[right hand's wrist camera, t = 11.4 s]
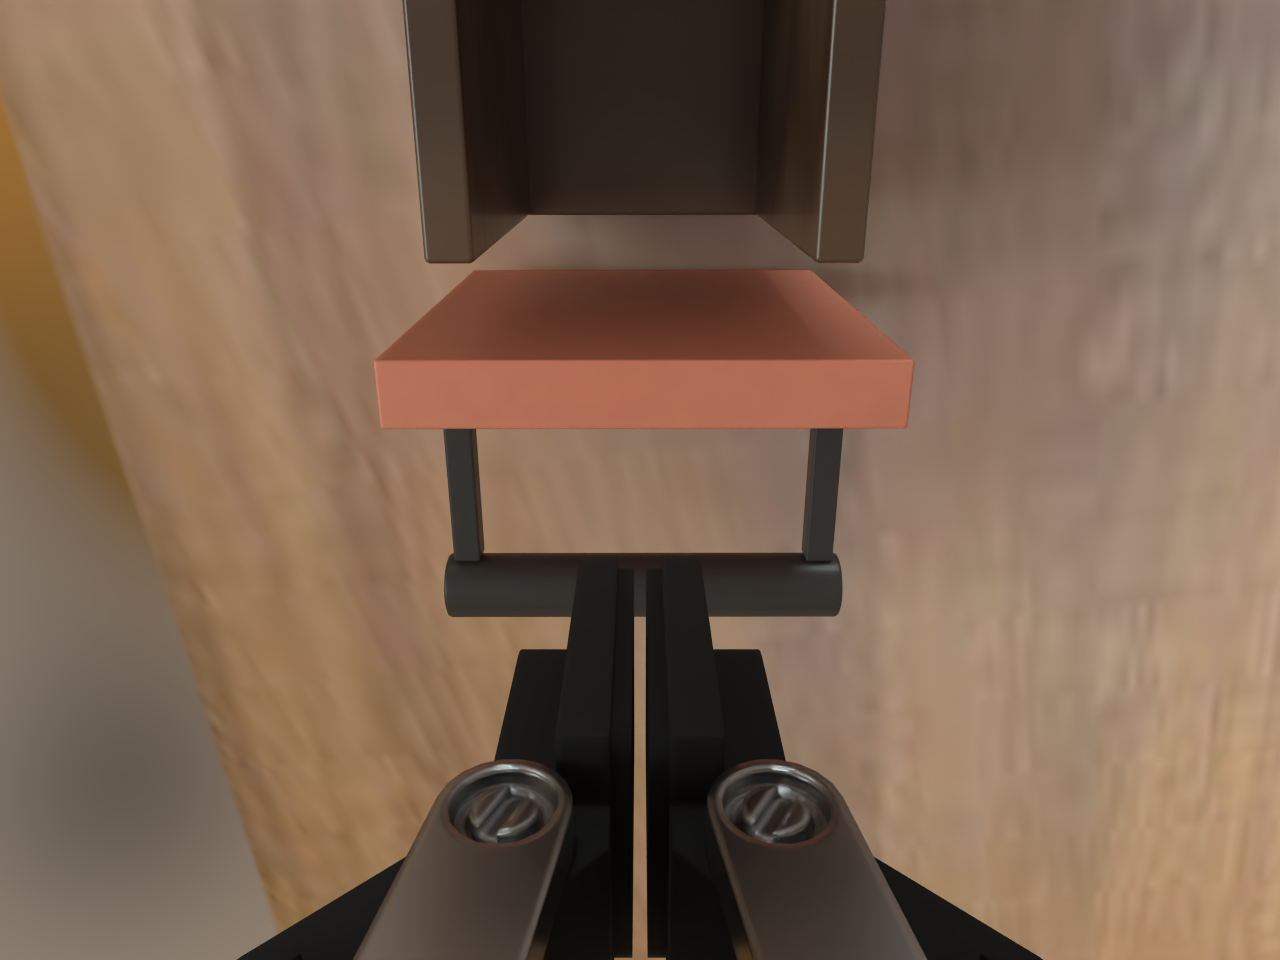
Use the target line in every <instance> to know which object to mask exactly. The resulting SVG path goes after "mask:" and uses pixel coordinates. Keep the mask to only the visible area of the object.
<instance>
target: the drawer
mask: <svg viewBox="0 0 1280 960" xmlns="http://www.w3.org/2000/svg"><path fill="white" fill-rule="evenodd" d="M402 1H403V12H404V24H405V36H406V47H407V59H408V71H409V82H410V94H411V105H412V117H413V129H414V140H415V152H416V164H417V175H418V187H419V199H420V210H421V222H422V234H423V245H424V257H425V260H426V262H428V263H471V262H473V261H475V260H476V259H477V258H478V257H479V256H480V255H482V254H483V253H484V252H485V251H486V250H488V249H489V248H490V247H491V246H492V245H493V244H495V243H496V242H497V241H498V240H499V239H500V238H502V237H503V236H504V235H505V234H506V233H508V232H509V231H510V230H511V229H512V228H513V227H515V226H516V225H517V224H518V223H519V222H521V221H522V220H523V219H524V218H525V217H526V216H528V215H758V216H759V217H761V218H762V219H763V220H764V221H766V222H767V223H768V224H769V225H771V226H772V227H773V228H774V229H776V230H777V231H778V232H779V233H781V234H782V235H783V236H784V237H786V238H787V239H788V240H789V241H791V242H792V243H793V244H795V245H796V246H797V247H798V248H800V249H801V250H802V251H803V252H805V253H806V254H807V255H808V256H810V257H811V258H812V259H813V260H815V261H816V262H818V263H859V262H861V261H862V260H863V258H864V248H865V236H866V225H867V213H868V202H869V190H870V179H871V167H872V156H873V144H874V133H875V121H876V110H877V98H878V87H879V75H880V64H881V52H882V41H883V29H884V18H885V7H886V0H402ZM914 363H915V362H914V360H913V359H912V358H911V357H910V356H909V355H908V354H906V353H905V352H904V351H903V350H902V349H901V348H900V347H898V346H897V345H896V344H895V343H894V342H893V341H892V340H890V339H889V338H888V337H887V336H886V335H885V334H884V333H882V332H881V331H880V330H879V329H878V328H877V327H875V326H874V325H873V324H872V323H871V322H870V321H869V320H867V319H866V318H865V317H864V316H863V315H862V314H861V313H859V312H858V311H857V310H856V309H855V308H854V307H853V306H851V305H850V304H849V303H848V302H847V301H846V300H845V299H843V298H842V297H841V296H840V295H839V294H838V293H836V292H835V291H834V290H833V289H832V288H831V287H830V286H828V285H827V284H826V283H825V282H824V281H823V280H822V279H820V278H819V277H818V276H817V275H816V274H815V273H814V272H812V271H811V270H496V271H473V272H472V273H471V274H470V275H469V276H467V277H466V278H465V279H464V280H463V281H462V282H461V283H460V284H459V285H457V286H456V287H455V288H454V289H453V290H452V291H451V292H450V293H449V294H448V295H446V296H445V297H444V298H443V299H442V300H441V301H440V302H439V303H438V304H436V305H435V306H434V307H433V308H432V309H431V310H430V311H429V312H428V313H427V314H425V315H424V316H423V317H422V318H421V319H420V320H419V321H418V322H417V323H416V324H414V325H413V326H412V327H411V328H410V329H409V330H408V331H407V332H406V333H404V334H403V335H402V336H401V337H400V338H399V339H398V340H397V341H396V342H395V343H393V344H392V345H391V346H390V347H389V348H388V349H387V350H386V351H385V352H383V353H382V354H381V355H380V356H379V357H378V358H377V359H376V360H375V361H374V369H375V378H376V387H377V396H378V405H379V414H380V423H381V427H382V428H383V429H444V441H445V453H446V465H447V477H448V489H449V501H450V513H451V524H452V536H453V548H454V553H453V554H451V555H450V556H449V558H448V561H447V564H446V570H445V579H444V597H445V605H446V609H447V612H448V614H449V616H452V617H571V616H572V609H573V602H574V594H575V587H576V580H577V573H578V566H579V559H580V558H619V568H634V617H646V568H661V558H700V559H701V566H702V573H703V580H704V587H705V594H706V602H707V609H708V616H709V617H772V616H836V615H838V613H839V611H840V607H841V602H842V573H841V566H840V562H839V559H838V557H837V555H836V554H834V553H833V543H834V531H835V519H836V507H837V496H838V484H839V472H840V460H841V449H842V437H843V428H906V427H907V425H908V416H909V407H910V399H911V390H912V381H913V372H914ZM675 428H810V441H809V455H808V469H807V483H806V497H805V511H804V525H803V539H802V551H803V553H483V552H484V536H483V522H482V508H481V494H480V480H479V465H478V451H477V437H476V429H675Z"/></svg>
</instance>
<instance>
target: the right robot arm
mask: <svg viewBox="0 0 1280 960" xmlns="http://www.w3.org/2000/svg"><path fill="white" fill-rule="evenodd" d="M633 831H634V568H619V558H580V559H579V566H578V573H577V580H576V587H575V594H574V602H573V609H572V616H571V623H570V630H569V638H568V645H567V649H522V650H520V652H519V655H518V659H517V664H516V668H515V672H514V677H513V681H512V686H511V690H510V694H509V699H508V703H507V707H506V712H505V716H504V721H503V725H502V729H501V734H500V738H499V743H498V747H497V751H496V756H495V760H494V761H492V762H488V763H483V764H480V765H478V766H475V767H473V768H471V769H468V770H466V771H464V772H462V773H461V774H459V775H458V776H457V777H455V778H454V779H453V780H451V781H450V782H449V783H447V785H446V786H445V787H444V789H443V790H442V791H441V793H440V794H439V795H438V796H437V798H436V800H435V802H434V804H433V806H432V808H431V810H430V812H429V814H428V816H427V817H426V819H425V821H424V823H423V825H422V827H421V829H420V831H419V833H418V835H417V837H416V839H415V841H414V843H413V844H412V846H411V848H410V850H409V852H408V854H407V856H406V857H405V858H403V859H402V860H400V861H398V862H397V863H395V864H393V865H392V866H390V867H388V868H387V869H385V870H384V871H382V872H380V873H379V874H377V875H375V876H374V877H372V878H370V879H369V880H367V881H365V882H364V883H362V884H360V885H359V886H357V887H355V888H354V889H352V890H350V891H349V892H347V893H346V894H344V895H342V896H341V897H339V898H337V899H336V900H334V901H332V902H331V903H329V904H327V905H326V906H324V907H322V908H321V909H319V910H317V911H316V912H314V913H312V914H311V915H309V916H308V917H306V918H304V919H303V920H301V921H299V922H298V923H296V924H294V925H293V926H291V927H289V928H288V929H286V930H284V931H283V932H281V933H279V934H278V935H276V936H275V937H273V938H271V939H270V940H268V941H266V942H265V943H263V944H261V945H260V946H258V947H256V948H255V949H253V950H251V951H250V952H248V953H246V954H245V955H243V956H242V957H240V958H239V959H237V960H614V958H632V940H633ZM646 831H647V940H648V958H666V960H1043V959H1041V958H1040V957H1039V956H1037V955H1035V954H1034V953H1032V952H1030V951H1029V950H1027V949H1025V948H1024V947H1022V946H1020V945H1019V944H1017V943H1015V942H1014V941H1012V940H1010V939H1009V938H1007V937H1005V936H1004V935H1002V934H1001V933H999V932H997V931H996V930H994V929H992V928H991V927H989V926H987V925H986V924H984V923H982V922H981V921H979V920H977V919H976V918H974V917H972V916H971V915H969V914H968V913H966V912H964V911H963V910H961V909H959V908H958V907H956V906H954V905H953V904H951V903H949V902H948V901H946V900H944V899H943V898H941V897H939V896H938V895H936V894H934V893H933V892H931V891H930V890H928V889H926V888H925V887H923V886H921V885H920V884H918V883H916V882H915V881H913V880H911V879H910V878H908V877H906V876H905V875H903V874H901V873H900V872H898V871H896V870H895V869H893V868H892V867H890V866H888V865H887V864H885V863H883V862H882V861H880V860H878V859H877V858H875V857H874V856H873V854H872V852H871V850H870V848H869V846H868V844H867V843H866V841H865V839H864V837H863V835H862V833H861V831H860V829H859V827H858V825H857V823H856V821H855V819H854V817H853V816H852V814H851V812H850V810H849V808H848V806H847V804H846V802H845V800H844V798H843V796H842V795H841V794H840V793H839V791H838V790H837V789H836V787H835V786H834V785H833V783H831V782H830V781H829V780H827V779H826V778H825V777H823V776H822V775H821V774H819V773H818V772H816V771H814V770H812V769H809V768H807V767H805V766H802V765H800V764H797V763H792V762H788V761H786V760H785V756H784V751H783V747H782V743H781V738H780V734H779V729H778V725H777V721H776V716H775V712H774V707H773V703H772V699H771V694H770V690H769V686H768V681H767V677H766V672H765V668H764V664H763V659H762V655H761V652H760V650H758V649H713V645H712V638H711V630H710V623H709V616H708V609H707V602H706V594H705V587H704V580H703V573H702V566H701V559H700V558H661V568H646Z"/></svg>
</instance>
